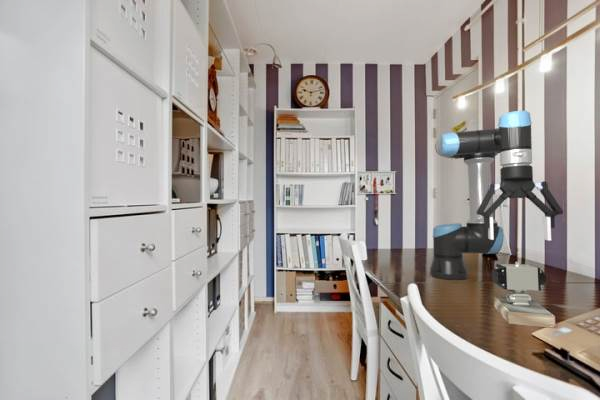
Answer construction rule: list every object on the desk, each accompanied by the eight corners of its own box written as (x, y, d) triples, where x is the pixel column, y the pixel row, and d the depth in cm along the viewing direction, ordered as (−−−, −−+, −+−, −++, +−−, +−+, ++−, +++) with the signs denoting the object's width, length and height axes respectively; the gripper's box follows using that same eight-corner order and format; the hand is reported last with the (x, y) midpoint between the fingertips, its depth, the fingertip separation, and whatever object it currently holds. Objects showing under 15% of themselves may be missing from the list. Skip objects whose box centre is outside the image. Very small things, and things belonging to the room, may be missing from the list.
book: (494, 306, 91) (493, 296, 91) (533, 310, 88) (532, 298, 88) (508, 323, 78) (508, 311, 78) (555, 328, 75) (554, 315, 75)
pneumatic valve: (547, 308, 80) (546, 263, 80) (499, 306, 82) (497, 262, 82) (536, 302, 85) (534, 260, 85) (490, 300, 87) (489, 259, 88)
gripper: (469, 167, 86) (471, 240, 86) (577, 161, 77) (580, 242, 77) (464, 170, 93) (466, 237, 93) (563, 164, 84) (566, 238, 84)
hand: (518, 239), depth 85 cm, fingers open, 13 cm apart
